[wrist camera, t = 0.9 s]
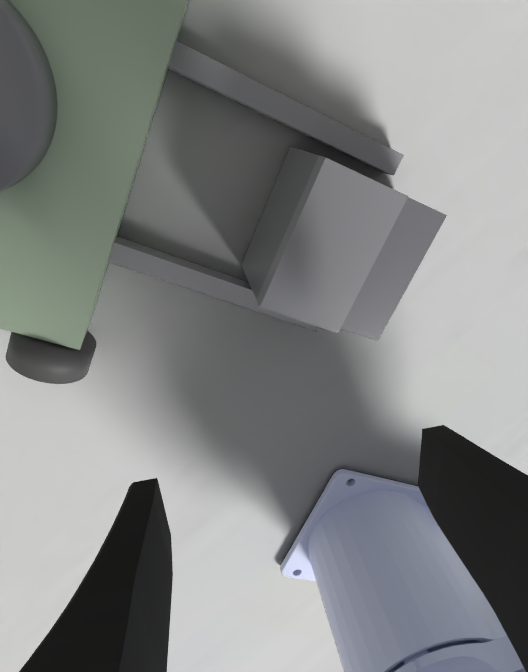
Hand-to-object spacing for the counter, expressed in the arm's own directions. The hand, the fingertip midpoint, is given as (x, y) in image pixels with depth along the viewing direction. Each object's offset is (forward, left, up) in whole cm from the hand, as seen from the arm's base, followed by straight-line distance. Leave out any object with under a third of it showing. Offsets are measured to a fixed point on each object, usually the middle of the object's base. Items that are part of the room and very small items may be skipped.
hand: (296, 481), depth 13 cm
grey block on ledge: (-1, -5, -10) cm, 11 cm away
